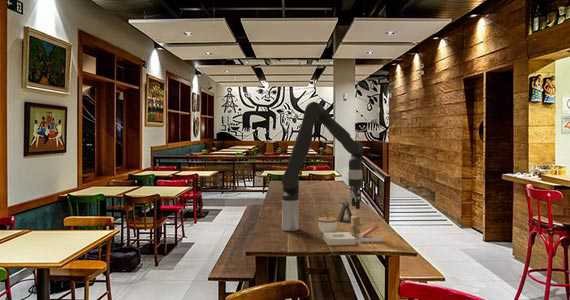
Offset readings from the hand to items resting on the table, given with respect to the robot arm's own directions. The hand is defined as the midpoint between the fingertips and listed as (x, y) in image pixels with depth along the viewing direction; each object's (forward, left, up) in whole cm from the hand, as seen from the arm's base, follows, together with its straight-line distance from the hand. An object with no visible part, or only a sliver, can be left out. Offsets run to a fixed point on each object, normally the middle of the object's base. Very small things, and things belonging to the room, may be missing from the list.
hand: (355, 207), depth 236 cm
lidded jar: (-14, +7, -15) cm, 22 cm away
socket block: (-12, -13, -15) cm, 23 cm away
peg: (0, 0, -15) cm, 15 cm away
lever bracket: (+4, -13, -15) cm, 20 cm away
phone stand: (+3, +37, -15) cm, 40 cm away
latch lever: (+4, -13, -11) cm, 18 cm away
